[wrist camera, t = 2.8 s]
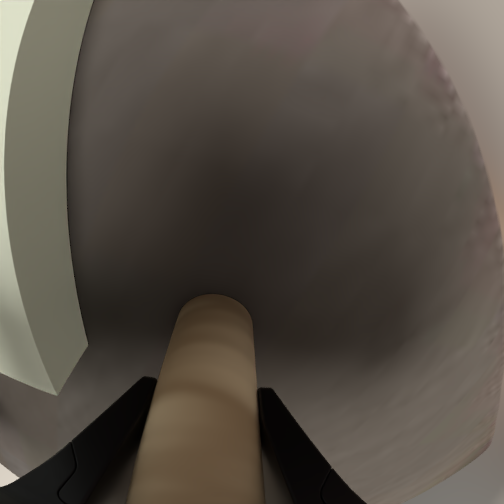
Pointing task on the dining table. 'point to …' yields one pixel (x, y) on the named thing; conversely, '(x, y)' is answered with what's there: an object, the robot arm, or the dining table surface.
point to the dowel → (203, 413)
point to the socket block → (37, 191)
